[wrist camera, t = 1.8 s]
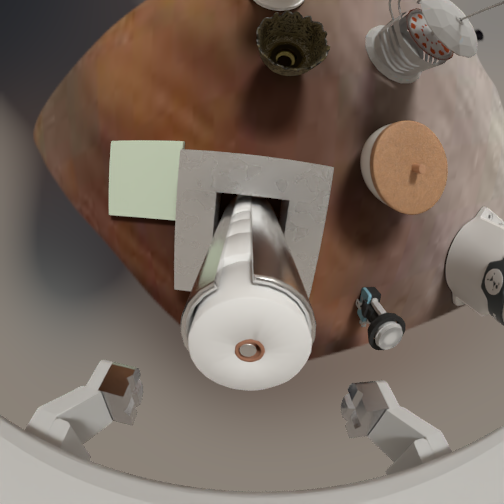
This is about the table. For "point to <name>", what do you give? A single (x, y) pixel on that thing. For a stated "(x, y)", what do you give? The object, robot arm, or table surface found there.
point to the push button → (379, 320)
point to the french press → (421, 39)
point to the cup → (291, 43)
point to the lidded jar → (405, 166)
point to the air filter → (248, 303)
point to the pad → (144, 178)
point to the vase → (279, 4)
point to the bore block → (254, 184)
